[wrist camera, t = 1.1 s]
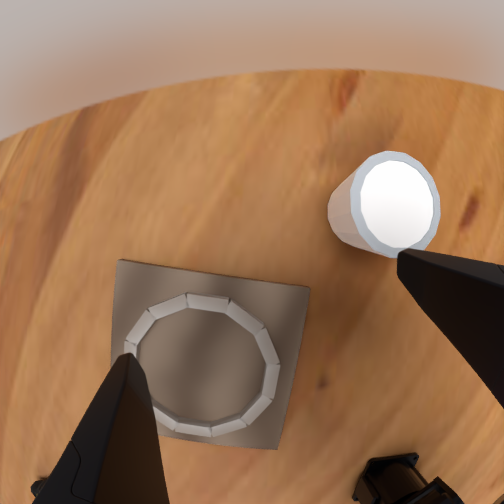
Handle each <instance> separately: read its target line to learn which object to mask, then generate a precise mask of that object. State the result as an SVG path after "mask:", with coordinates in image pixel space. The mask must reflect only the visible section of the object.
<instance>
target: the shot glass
mask: <svg viewBox="0 0 504 504" xmlns="http://www.w3.org/2000/svg"><path fill="white" fill-rule="evenodd" d="M439 220H440V197H439V194H438V191H437V188H436V186H435V183H434V180H433V178H432V176H431V175H430V174H429V173H428V171H427V170H426V169H425V168H424V166H423V165H422V164H421V163H420V162H419V161H417V160H415V159H414V158H412V157H410V156H409V155H407V154H405V153H402V152H394V151H384V152H381V153H378V154H376V155H373V156H370V157H369V158H368V159H367V160H366V161H365V162H364V163H362V164H361V165H360V166H359V167H358V168H357V169H356V170H355V171H354V172H353V173H352V174H351V175H350V176H349V177H347V178H346V179H345V180H344V181H343V182H342V183H341V184H340V185H339V186H338V187H337V188H336V189H335V190H334V191H333V192H332V194H331V197H330V200H329V203H328V221H329V223H330V225H331V228H332V230H333V232H334V233H335V234H336V235H337V236H338V237H339V239H340V240H341V241H342V242H345V243H347V244H349V245H351V246H354V247H357V248H360V249H363V250H367V251H370V252H373V253H376V254H380V255H383V256H386V257H389V258H397V255H398V253H399V252H400V251H402V250H404V249H406V248H412V249H418V250H424V249H425V248H426V247H427V245H428V244H429V243H430V241H431V240H432V239H433V237H434V236H435V234H436V231H437V227H438V224H439Z"/></svg>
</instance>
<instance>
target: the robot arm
mask: <svg viewBox="0 0 504 504" xmlns="http://www.w3.org/2000/svg"><path fill="white" fill-rule="evenodd" d="M397 275H398V278H399V279H400V281H401V282H402V283H403V285H404V286H405V287H406V289H407V290H408V291H409V293H410V294H411V295H412V297H413V298H414V299H415V301H416V302H417V303H418V305H419V306H420V307H421V309H422V310H423V311H424V312H425V313H426V314H427V316H428V317H429V318H430V319H431V320H432V321H433V322H434V323H435V325H436V326H437V327H438V328H439V329H440V330H441V331H442V333H443V334H444V335H445V336H446V337H447V338H448V339H449V341H450V342H451V343H452V344H453V345H454V347H455V348H456V349H457V350H458V351H459V352H460V354H461V355H462V356H463V357H464V358H465V360H466V361H467V362H468V363H469V365H470V366H471V367H472V368H473V369H474V371H475V372H476V373H477V374H478V376H479V377H480V378H481V379H482V381H483V382H484V383H485V385H486V386H487V387H488V388H489V390H490V391H491V393H492V394H493V395H494V396H495V398H496V399H497V400H498V402H499V403H500V404H501V406H502V407H503V409H504V265H499V264H497V265H496V264H494V263H488V262H483V261H478V260H473V259H468V258H462V257H457V256H451V255H446V254H440V253H435V252H429V251H424V250H418V249H412V248H406V249H404V250H402V251H400V252H399V253H398V255H397ZM71 440H72V441H71ZM71 440H70V441H69V443H68V445H67V447H66V449H65V450H64V452H63V454H62V456H61V458H60V459H59V461H58V463H57V465H56V466H55V468H54V469H53V471H52V473H51V474H50V476H49V477H48V479H47V481H46V482H45V484H44V485H43V487H42V488H41V490H40V492H39V493H38V495H37V496H36V498H35V500H34V501H33V503H32V504H170V502H169V498H168V493H167V487H166V482H165V477H164V471H163V465H162V459H161V452H160V446H159V439H158V432H157V424H156V418H155V414H154V409H153V405H152V401H151V397H150V392H149V388H148V383H147V378H146V375H145V372H144V370H143V368H142V367H141V365H140V364H139V362H138V361H137V359H136V358H135V356H134V355H133V354H132V353H131V352H128V353H125V354H122V355H119V356H118V357H117V359H116V361H115V362H114V364H113V366H112V367H111V369H110V371H109V372H108V374H107V376H106V378H105V379H104V381H103V383H102V384H101V386H100V388H99V389H98V391H97V393H96V395H95V396H94V398H93V400H92V402H91V403H90V405H89V407H88V409H87V410H86V412H85V414H84V416H83V418H82V419H81V421H80V423H79V425H78V427H77V428H76V430H75V432H74V434H73V436H72V438H71ZM418 458H419V455H418V454H417V453H413V454H406V455H400V456H393V457H385V458H377V459H371V460H370V461H369V462H368V464H367V466H366V468H365V471H364V473H363V475H362V477H361V478H360V481H359V483H358V485H357V487H356V489H355V493H354V495H353V497H352V498H353V500H354V501H359V502H360V504H464V503H463V501H462V500H461V498H460V497H459V496H458V495H457V494H456V493H455V492H454V491H453V490H452V489H451V488H450V487H449V486H448V485H447V484H446V483H445V482H443V481H442V480H441V479H440V478H439V477H438V476H437V477H436V478H435V479H433V481H432V482H430V483H429V484H428V482H427V481H426V480H425V479H424V478H423V476H422V475H421V474H420V473H419V471H418V470H417V469H416V468H415V467H414V466H415V464H416V462H417V460H418ZM372 463H373V464H372ZM494 504H504V494H503V495H502V496H501V497H500V498H499V499H498V500H497V501H496V502H495V503H494Z"/></svg>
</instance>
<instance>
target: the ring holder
mask: <svg viewBox="0 0 504 504" xmlns="http://www.w3.org/2000/svg"><path fill="white" fill-rule="evenodd" d="M309 294H310V288H309V287H307V286H300V285H292V284H284V283H277V282H270V281H262V280H255V279H248V278H241V277H234V276H227V275H220V274H213V273H206V272H200V271H193V270H186V269H180V268H173V267H167V266H161V265H154V264H148V263H142V262H136V261H130V260H124V259H119V260H117V267H116V276H115V288H114V300H113V316H112V337H111V367H112V366H113V364H114V362H115V361H116V359H117V357H118V356H119V355H122V354H125V353H128V352H131V353H132V354H133V355H134V356H135V358H136V359H137V361H138V362H139V364H140V365H141V367H142V368H143V370H144V372H145V375H146V378H147V383H148V388H149V392H150V397H151V401H152V405H153V409H154V414H155V418H156V424H157V432H158V435H161V436H166V437H171V438H176V439H182V440H188V441H194V442H201V443H208V444H215V445H224V446H233V447H243V448H256V449H272V450H278V446H279V442H280V437H281V433H282V429H283V425H284V421H285V416H286V412H287V407H288V403H289V398H290V394H291V389H292V385H293V380H294V375H295V370H296V365H297V360H298V355H299V350H300V345H301V340H302V334H303V329H304V323H305V318H306V312H307V306H308V300H309Z"/></svg>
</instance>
